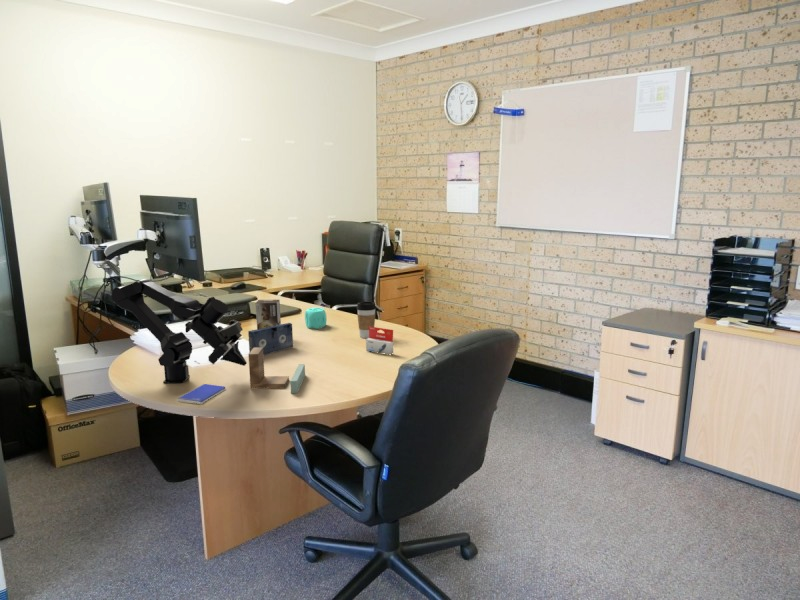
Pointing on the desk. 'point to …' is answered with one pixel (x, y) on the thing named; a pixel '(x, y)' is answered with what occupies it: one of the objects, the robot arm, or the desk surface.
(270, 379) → the bookend
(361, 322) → the coffee cup
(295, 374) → the board
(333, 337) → the desk surface
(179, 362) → the robot arm
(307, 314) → the decorative dice
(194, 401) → the hard drive
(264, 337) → the vhs cassette tape
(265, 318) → the coffee box
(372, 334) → the ink cartridge box
